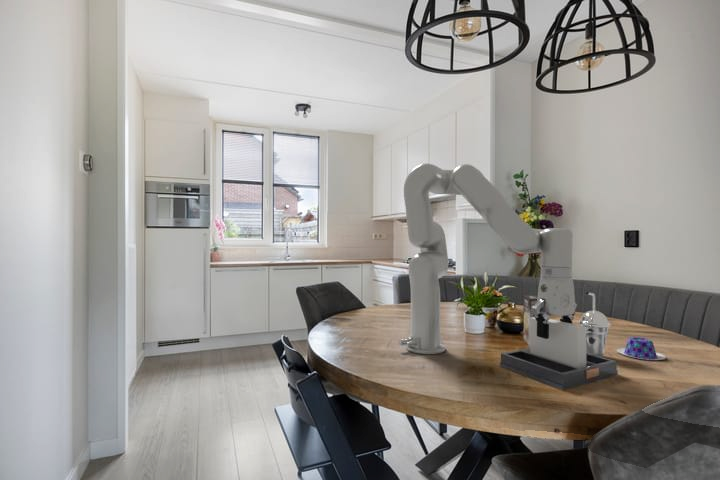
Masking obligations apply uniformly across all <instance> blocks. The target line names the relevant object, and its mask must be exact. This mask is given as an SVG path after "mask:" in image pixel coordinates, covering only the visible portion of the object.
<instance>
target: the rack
mask: <svg viewBox="0 0 720 480" xmlns="http://www.w3.org/2000/svg"><path fill="white" fill-rule="evenodd" d="M617 365H618V363H617V360H613V359H609V358H606V357H604V356H603V357H599V356H595V355H592V354H588V353H586V367H584V368H577V367H574V366H571V365H568V364H565V363H561V362H558V361H555V360H552V359H548V358H545V357H542V356H539V355H536V354H532V353H530V347H528V348H523V349H518V350H517V349H516V350H513V351H507V352H503V353H500V362H499V367H500V368H503V369H506V370H509V371H511V372H514V373H516V374H519V375H522V376H524V377H527V378H528V379H529V378H530V379H531V380H535V381H537V382H540V383H542V384H545V385H548V386H551V387H553V388H555V389H558V390H561V391H565V390H569V389H571V388H574V387H579V386H582V385H586V384H589V383H593V382H596V381H600V380H602V379H606V378H609V377H613V376H617V375H619V371H618V369H617V368H618V367H617Z"/></svg>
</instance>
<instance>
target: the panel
mask: <svg viewBox="0 0 720 480" xmlns="http://www.w3.org/2000/svg"><path fill="white" fill-rule="evenodd" d="M547 324H549V338H548V339H545V338H541V337H538V336H537V322H536V321H535V317H532V318H530V346H529V348H530V353H532V354H536V355H539V356H542V357H545V358H548V359H552V360H555V361H558V362H561V363H565V364H568V365H571V366H574V367H577V368H584V367H586V326H581V324H577V323H576V324H575V323H572V324H571V323H566V322H561V321H560V320H555V319H551V318H550V319H549V321H548V322H547Z"/></svg>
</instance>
